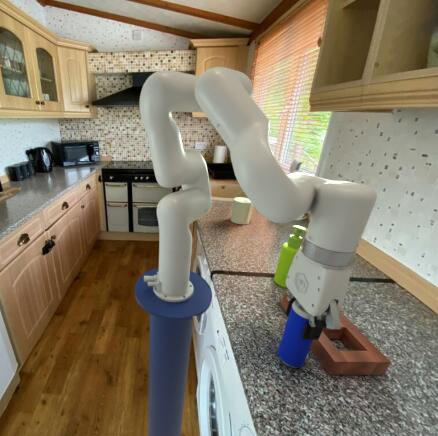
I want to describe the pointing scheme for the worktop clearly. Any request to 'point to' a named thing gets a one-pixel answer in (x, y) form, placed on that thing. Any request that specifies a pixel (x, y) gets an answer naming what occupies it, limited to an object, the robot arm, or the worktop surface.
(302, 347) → the beverage can
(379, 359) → the holder
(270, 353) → the worktop surface
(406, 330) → the worktop surface
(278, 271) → the soap dispenser
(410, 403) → the worktop surface
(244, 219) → the can
